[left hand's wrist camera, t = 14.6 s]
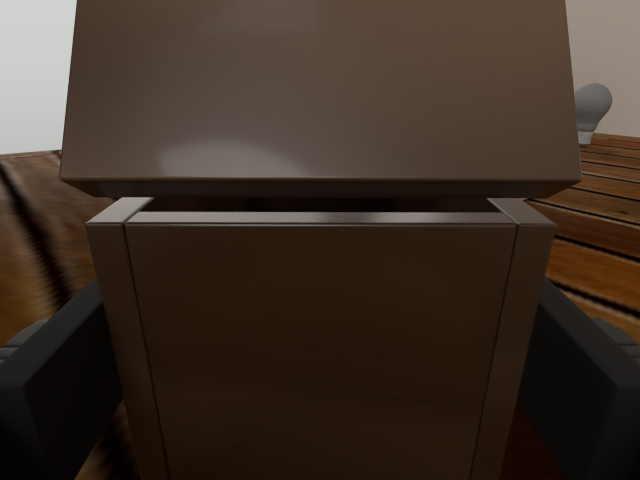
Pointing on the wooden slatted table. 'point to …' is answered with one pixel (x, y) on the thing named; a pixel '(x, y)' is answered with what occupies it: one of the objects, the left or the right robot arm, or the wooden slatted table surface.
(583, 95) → the light bulb
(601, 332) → the left robot arm
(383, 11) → the lid
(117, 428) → the wooden slatted table surface
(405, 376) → the chest
